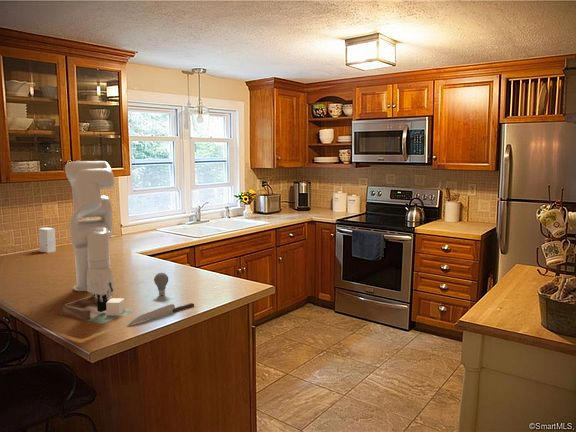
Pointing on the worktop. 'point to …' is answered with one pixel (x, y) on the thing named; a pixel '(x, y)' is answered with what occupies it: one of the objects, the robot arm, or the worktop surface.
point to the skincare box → (47, 240)
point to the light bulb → (161, 282)
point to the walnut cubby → (89, 310)
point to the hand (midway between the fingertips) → (102, 310)
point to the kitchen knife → (159, 312)
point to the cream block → (115, 306)
